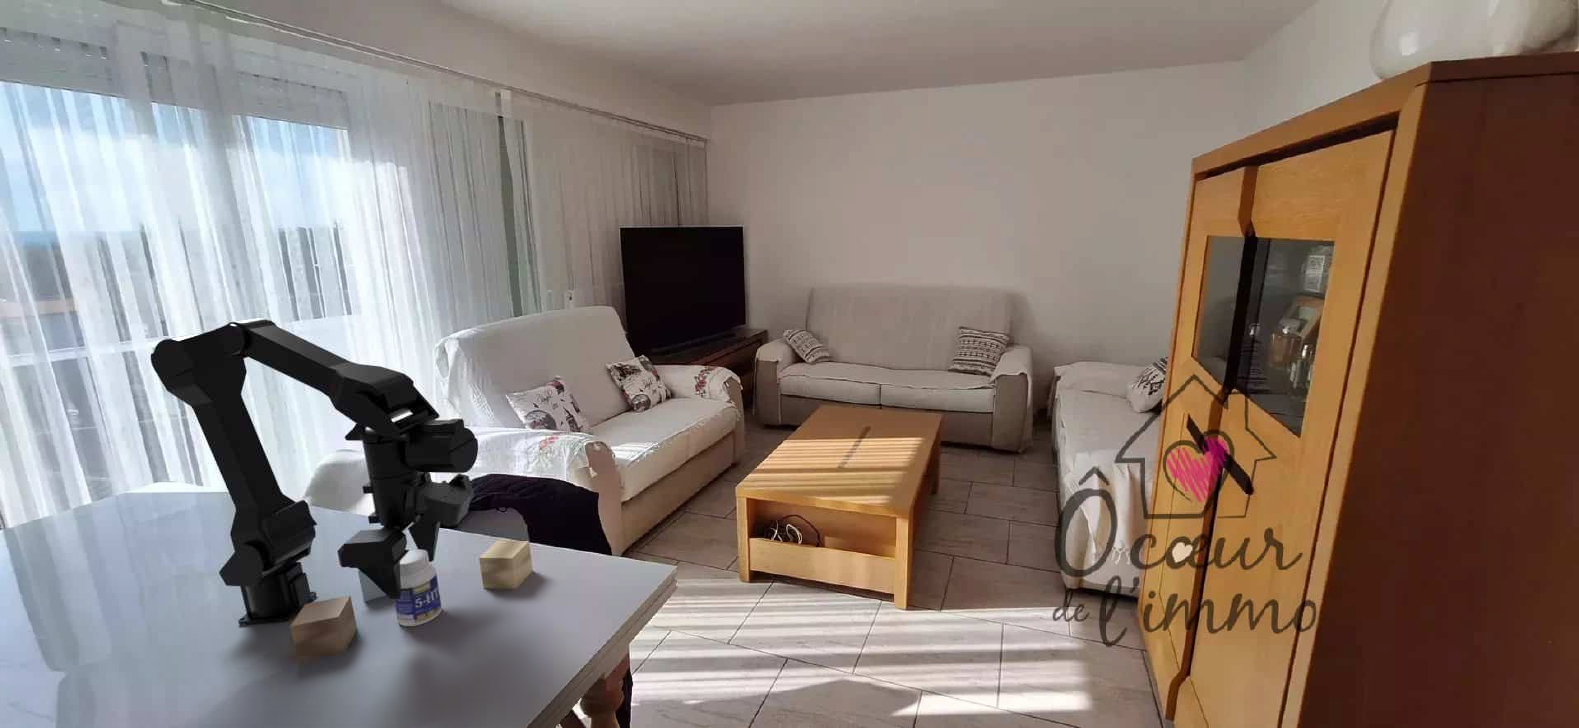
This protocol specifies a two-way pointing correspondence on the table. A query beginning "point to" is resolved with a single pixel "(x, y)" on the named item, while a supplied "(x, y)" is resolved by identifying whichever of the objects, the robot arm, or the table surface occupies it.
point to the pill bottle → (417, 590)
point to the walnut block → (324, 628)
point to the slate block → (369, 588)
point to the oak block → (506, 564)
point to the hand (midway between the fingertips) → (413, 579)
